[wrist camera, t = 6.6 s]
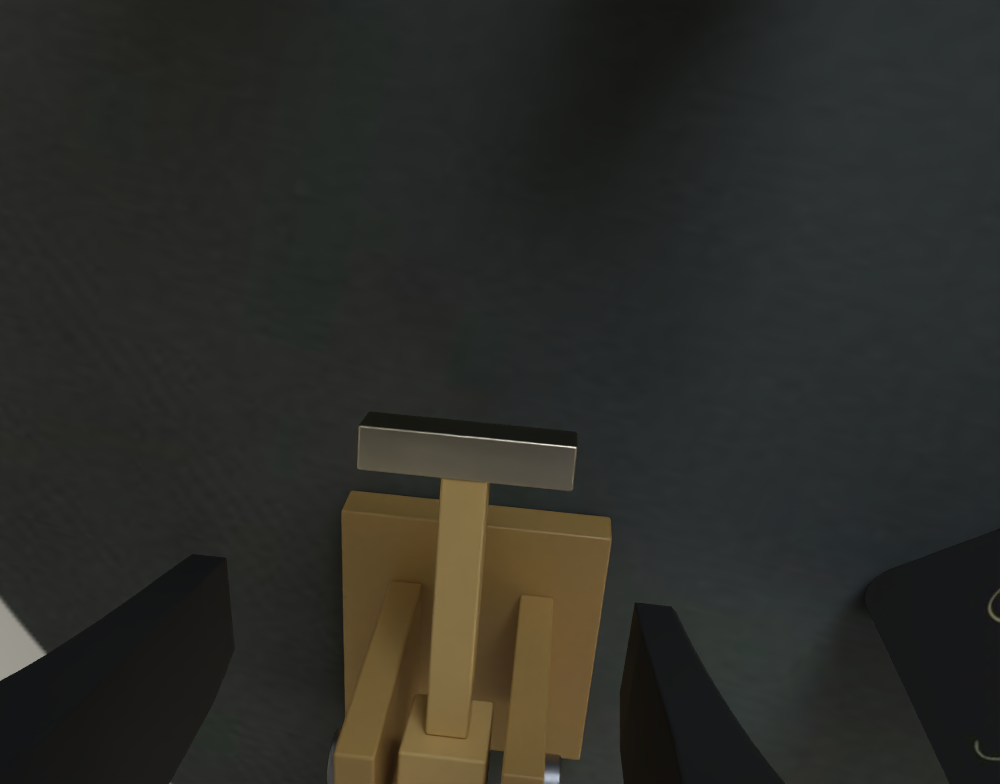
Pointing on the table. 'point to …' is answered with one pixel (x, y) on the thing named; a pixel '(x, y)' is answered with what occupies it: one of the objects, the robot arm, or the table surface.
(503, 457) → the handle
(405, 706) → the wooden lever stand
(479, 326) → the table surface
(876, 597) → the nameplate
